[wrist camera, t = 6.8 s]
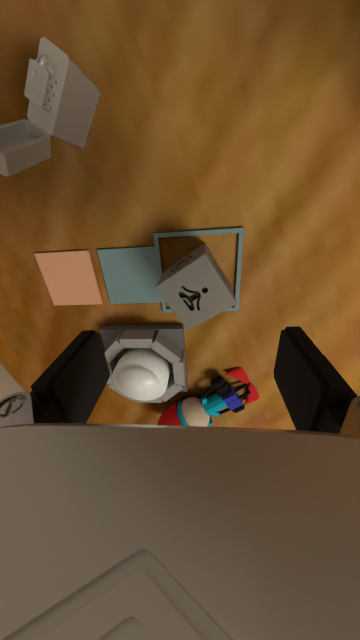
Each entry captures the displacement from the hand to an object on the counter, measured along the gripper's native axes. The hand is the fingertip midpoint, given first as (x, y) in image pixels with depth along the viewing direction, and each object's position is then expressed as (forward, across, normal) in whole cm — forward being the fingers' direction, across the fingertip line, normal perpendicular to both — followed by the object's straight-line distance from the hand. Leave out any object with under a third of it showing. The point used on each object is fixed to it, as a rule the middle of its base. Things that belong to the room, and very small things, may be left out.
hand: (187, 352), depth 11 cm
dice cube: (+13, 0, 0) cm, 13 cm away
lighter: (+13, +9, -12) cm, 20 cm away
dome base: (+13, +6, +11) cm, 18 cm away
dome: (+12, +6, +11) cm, 17 cm away
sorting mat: (+13, +6, 0) cm, 14 cm away
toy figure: (+14, -1, +18) cm, 23 cm away
